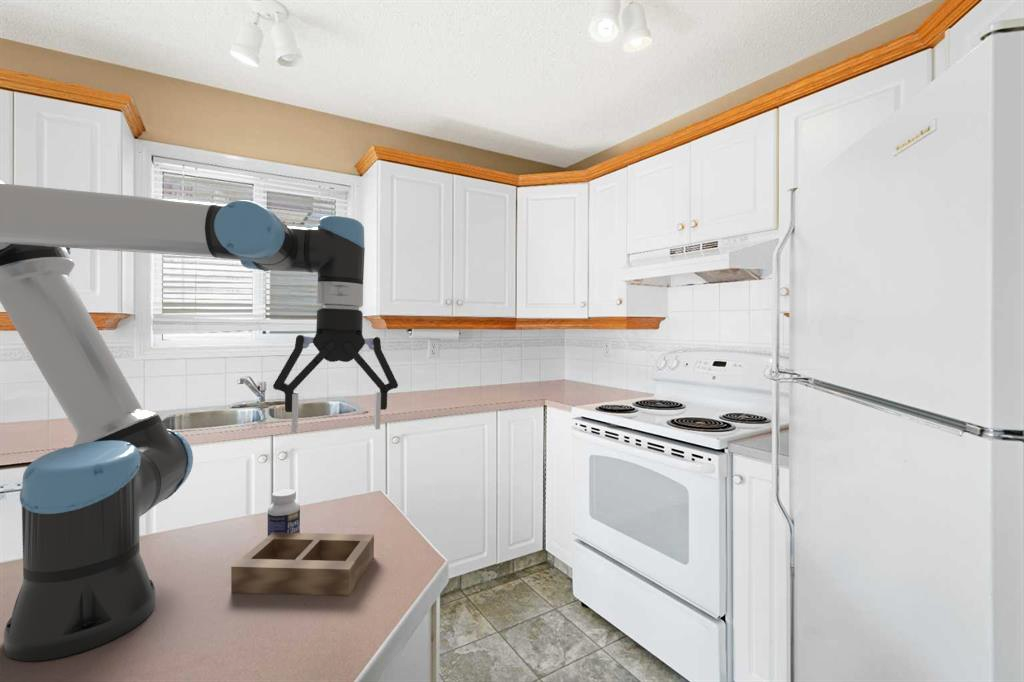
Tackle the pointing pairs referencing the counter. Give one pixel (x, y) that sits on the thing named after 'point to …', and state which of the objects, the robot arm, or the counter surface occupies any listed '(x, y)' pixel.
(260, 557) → the socket board
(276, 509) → the pill bottle
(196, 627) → the counter surface
